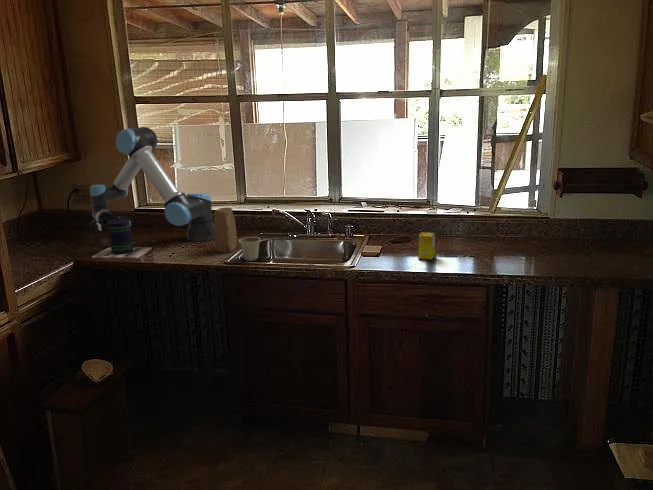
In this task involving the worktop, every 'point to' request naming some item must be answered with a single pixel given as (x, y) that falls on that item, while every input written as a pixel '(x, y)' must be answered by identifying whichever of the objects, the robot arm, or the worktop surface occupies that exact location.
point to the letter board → (135, 254)
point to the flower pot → (250, 247)
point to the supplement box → (426, 246)
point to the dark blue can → (120, 236)
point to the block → (225, 230)
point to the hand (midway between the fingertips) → (115, 225)
